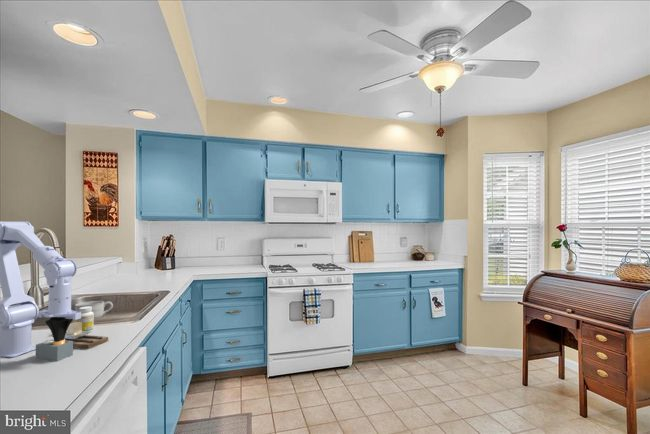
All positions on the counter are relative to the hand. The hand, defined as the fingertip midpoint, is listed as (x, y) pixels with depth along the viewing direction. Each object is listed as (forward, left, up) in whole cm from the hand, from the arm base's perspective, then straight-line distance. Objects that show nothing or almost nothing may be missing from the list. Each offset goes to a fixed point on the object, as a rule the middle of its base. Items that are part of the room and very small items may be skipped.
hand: (59, 340), depth 103 cm
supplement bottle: (-15, +23, -6) cm, 28 cm away
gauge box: (-2, 0, -5) cm, 6 cm away
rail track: (-4, +12, -5) cm, 13 cm away
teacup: (-26, +37, -6) cm, 45 cm away
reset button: (0, 0, -5) cm, 5 cm away
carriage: (-7, +12, -3) cm, 14 cm away
